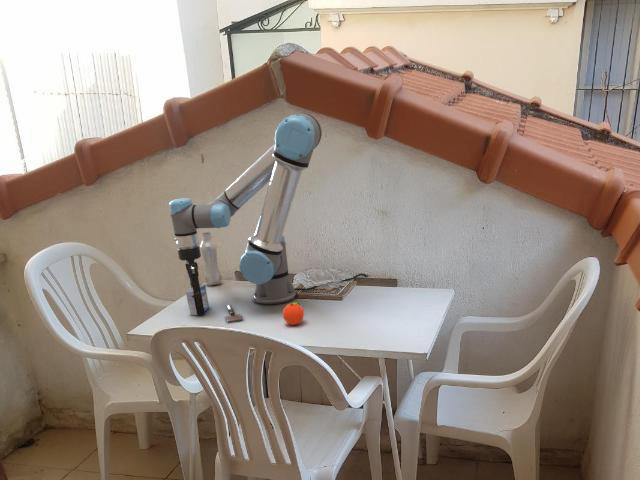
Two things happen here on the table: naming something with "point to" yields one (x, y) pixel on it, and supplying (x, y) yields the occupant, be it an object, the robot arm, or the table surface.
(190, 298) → the medicine box
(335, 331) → the table surface
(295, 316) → the clementine
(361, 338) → the table surface
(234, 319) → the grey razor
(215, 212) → the robot arm
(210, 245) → the plastic bottle
